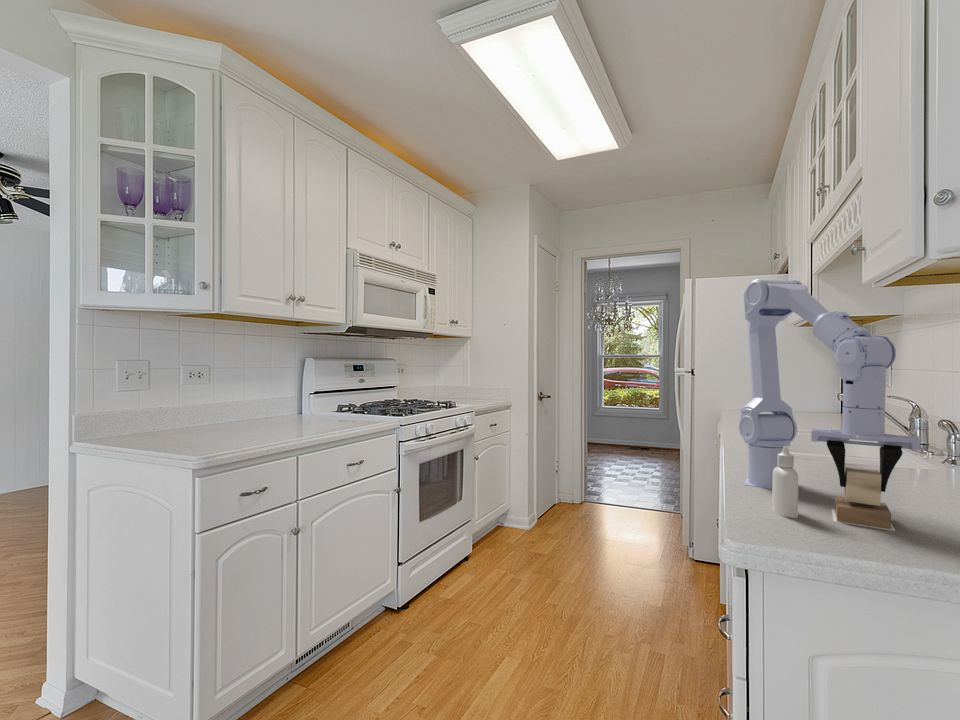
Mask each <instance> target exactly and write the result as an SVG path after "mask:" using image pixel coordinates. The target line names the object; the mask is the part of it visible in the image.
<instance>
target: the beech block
mask: <svg viewBox="0 0 960 720" xmlns="http://www.w3.org/2000/svg"><path fill="white" fill-rule="evenodd" d="M845 479H846V487H843V488H844V490H843V491H844V492H843V495H844V498H845V499H846V501H849V502H856V503H863V504H870V505H877V506H880V503H882V502H881V499H882V496H881V495H882V492H881V474H880V470H879V469H871V468H870V469H869V468H862V467H852V466H845Z"/></svg>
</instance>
